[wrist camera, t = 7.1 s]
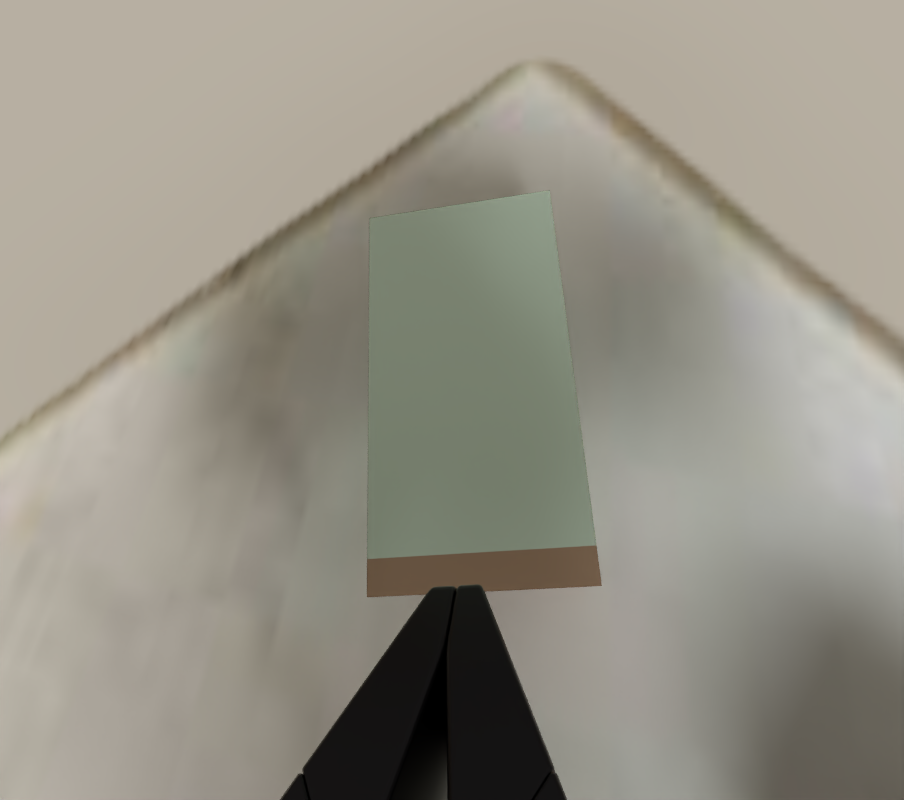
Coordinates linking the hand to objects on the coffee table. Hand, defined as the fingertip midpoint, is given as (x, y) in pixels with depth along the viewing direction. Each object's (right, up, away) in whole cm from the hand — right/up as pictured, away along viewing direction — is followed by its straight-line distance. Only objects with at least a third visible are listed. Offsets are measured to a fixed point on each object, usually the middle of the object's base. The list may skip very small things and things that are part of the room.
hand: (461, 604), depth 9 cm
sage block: (+1, -1, +5) cm, 5 cm away
